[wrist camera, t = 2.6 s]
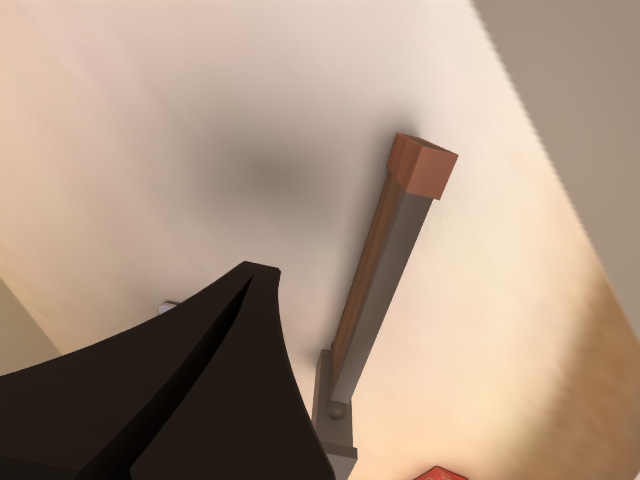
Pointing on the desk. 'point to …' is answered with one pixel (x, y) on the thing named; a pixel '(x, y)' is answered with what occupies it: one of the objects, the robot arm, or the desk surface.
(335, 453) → the gate post
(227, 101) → the desk surface
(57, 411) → the robot arm
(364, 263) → the brown flat bar
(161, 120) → the desk surface
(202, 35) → the desk surface
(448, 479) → the ink cartridge box
